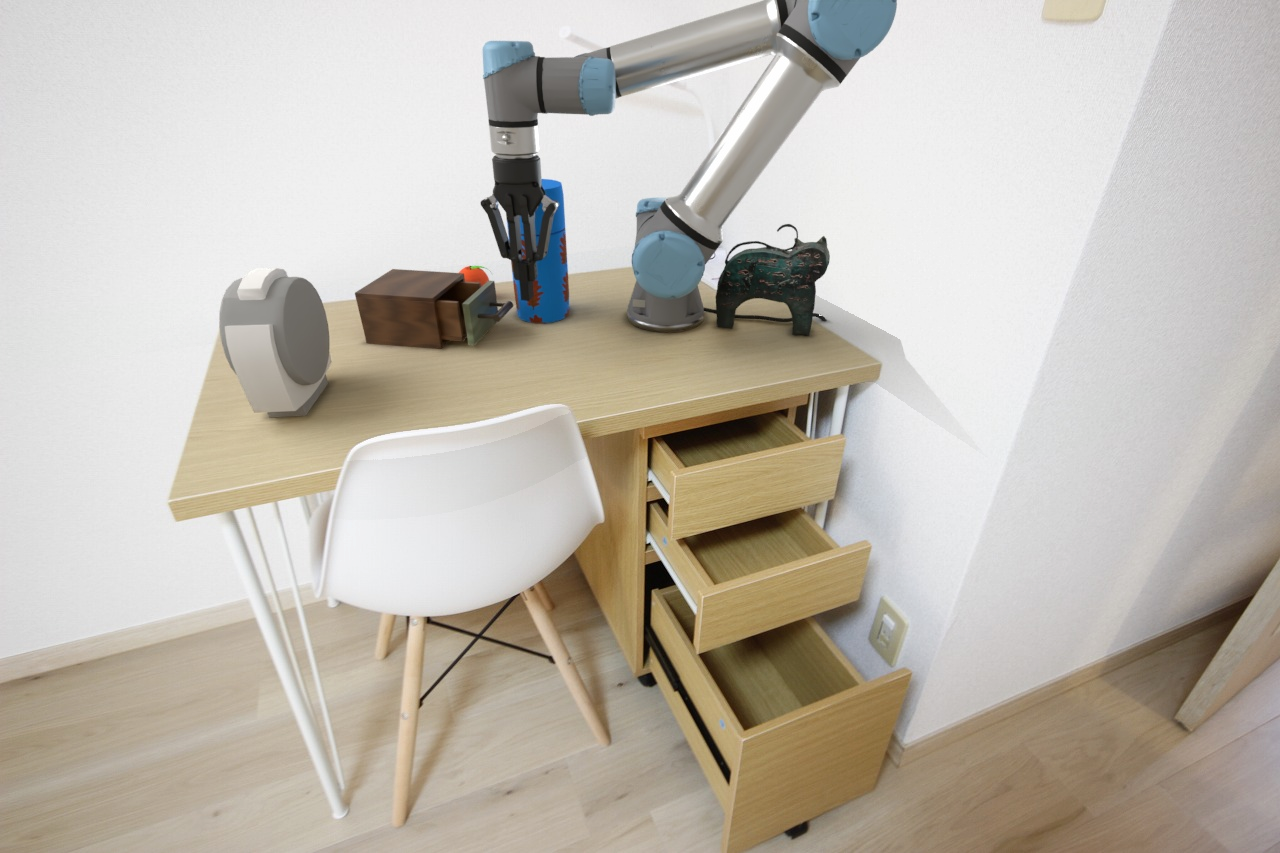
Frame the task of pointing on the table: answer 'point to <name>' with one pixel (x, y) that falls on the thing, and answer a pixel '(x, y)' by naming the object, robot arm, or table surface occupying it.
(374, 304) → the cabinet
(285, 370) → the alarm clock
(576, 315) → the table surface
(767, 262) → the ceramic cat
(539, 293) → the thermos
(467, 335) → the drawer
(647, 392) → the table surface
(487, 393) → the table surface
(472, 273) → the clementine
